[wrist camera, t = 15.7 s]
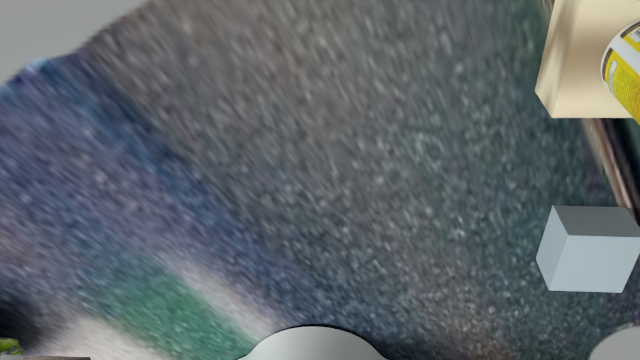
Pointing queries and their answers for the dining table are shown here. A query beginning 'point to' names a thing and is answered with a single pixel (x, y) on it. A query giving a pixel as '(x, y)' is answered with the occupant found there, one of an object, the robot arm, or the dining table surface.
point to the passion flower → (10, 347)
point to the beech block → (582, 57)
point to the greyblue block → (588, 248)
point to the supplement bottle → (624, 68)
